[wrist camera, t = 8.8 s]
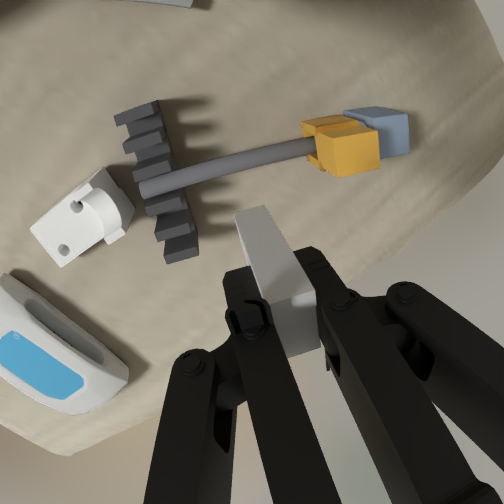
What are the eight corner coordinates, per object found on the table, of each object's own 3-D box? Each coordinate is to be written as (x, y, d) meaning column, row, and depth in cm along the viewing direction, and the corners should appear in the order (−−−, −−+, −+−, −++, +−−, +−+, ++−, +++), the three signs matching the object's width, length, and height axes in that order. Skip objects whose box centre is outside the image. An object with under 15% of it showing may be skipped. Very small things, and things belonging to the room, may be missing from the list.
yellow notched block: (307, 160, 38) (337, 182, 30) (300, 121, 35) (331, 133, 27) (343, 152, 38) (380, 172, 30) (338, 114, 35) (377, 125, 28)
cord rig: (169, 239, 42) (166, 269, 36) (126, 110, 33) (111, 116, 26) (381, 182, 44) (410, 201, 37) (368, 61, 34) (401, 60, 28)
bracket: (105, 164, 36) (88, 182, 29) (135, 208, 39) (125, 233, 33) (39, 217, 37) (16, 243, 30) (68, 255, 41) (51, 284, 34)
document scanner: (76, 399, 56) (72, 422, 51) (-27, 324, 43) (-39, 346, 37) (132, 362, 53) (129, 389, 48) (9, 265, 39) (-7, 288, 34)
